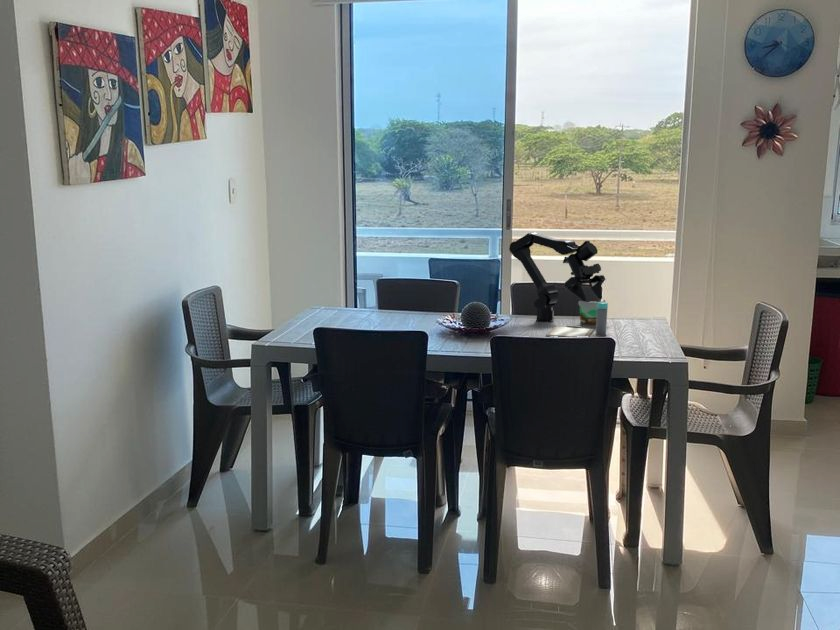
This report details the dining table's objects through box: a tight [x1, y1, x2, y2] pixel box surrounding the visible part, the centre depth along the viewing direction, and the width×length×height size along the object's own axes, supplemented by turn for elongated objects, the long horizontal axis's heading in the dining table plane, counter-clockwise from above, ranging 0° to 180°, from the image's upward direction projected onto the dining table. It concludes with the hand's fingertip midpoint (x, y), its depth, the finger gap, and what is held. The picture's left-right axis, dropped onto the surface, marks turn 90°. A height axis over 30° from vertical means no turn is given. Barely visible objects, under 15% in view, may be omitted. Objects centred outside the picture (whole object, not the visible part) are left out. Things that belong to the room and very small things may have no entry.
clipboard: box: [545, 324, 595, 337], centre depth 329 cm, size 16×19×1 cm
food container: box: [577, 299, 607, 326], centre depth 346 cm, size 12×6×10 cm, turn 101°
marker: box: [595, 301, 609, 337], centre depth 325 cm, size 4×4×13 cm
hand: (593, 299), depth 332 cm, fingers open, 9 cm apart
